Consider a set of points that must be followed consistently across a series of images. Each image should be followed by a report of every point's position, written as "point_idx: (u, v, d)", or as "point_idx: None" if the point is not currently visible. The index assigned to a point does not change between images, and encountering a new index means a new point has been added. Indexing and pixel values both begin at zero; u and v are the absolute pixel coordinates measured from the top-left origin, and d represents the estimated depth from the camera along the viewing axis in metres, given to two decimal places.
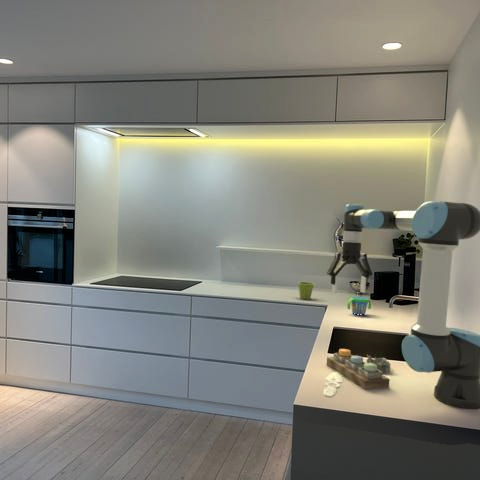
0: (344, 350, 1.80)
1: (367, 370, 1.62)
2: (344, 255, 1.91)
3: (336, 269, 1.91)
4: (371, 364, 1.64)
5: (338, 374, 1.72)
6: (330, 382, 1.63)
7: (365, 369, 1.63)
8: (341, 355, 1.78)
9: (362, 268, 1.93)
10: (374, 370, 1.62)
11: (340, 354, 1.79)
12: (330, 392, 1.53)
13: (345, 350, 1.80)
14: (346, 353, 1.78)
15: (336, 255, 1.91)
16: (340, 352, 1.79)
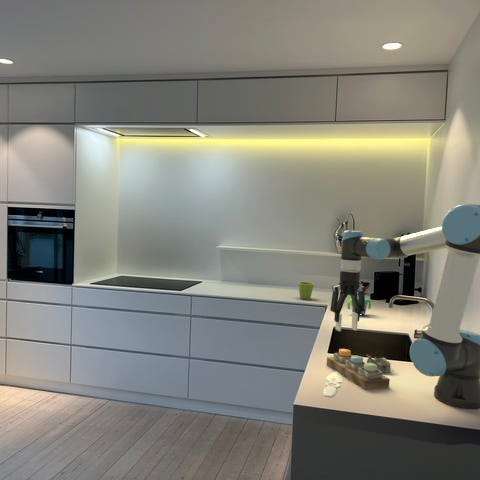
0: (344, 350, 1.80)
1: (367, 370, 1.62)
2: (342, 286, 1.76)
3: (338, 305, 1.77)
4: (371, 364, 1.64)
5: (338, 374, 1.72)
6: (330, 382, 1.63)
7: (365, 369, 1.63)
8: (341, 355, 1.78)
9: (356, 302, 1.79)
10: (374, 370, 1.62)
11: (340, 354, 1.79)
12: (330, 392, 1.53)
13: (345, 350, 1.80)
14: (346, 353, 1.78)
15: (333, 289, 1.76)
16: (340, 352, 1.79)
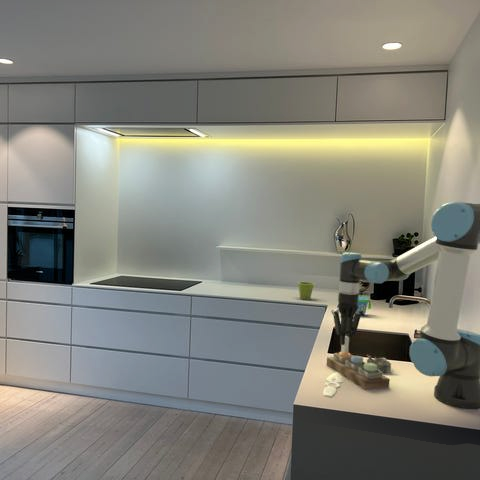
0: None
1: (367, 370, 1.62)
2: (340, 309, 1.77)
3: (342, 328, 1.79)
4: (371, 364, 1.64)
5: (338, 374, 1.72)
6: (330, 382, 1.63)
7: (365, 369, 1.63)
8: None
9: (350, 325, 1.78)
10: (374, 370, 1.62)
11: None
12: (329, 392, 1.53)
13: None
14: (346, 356, 1.78)
15: (333, 314, 1.77)
16: (340, 355, 1.79)
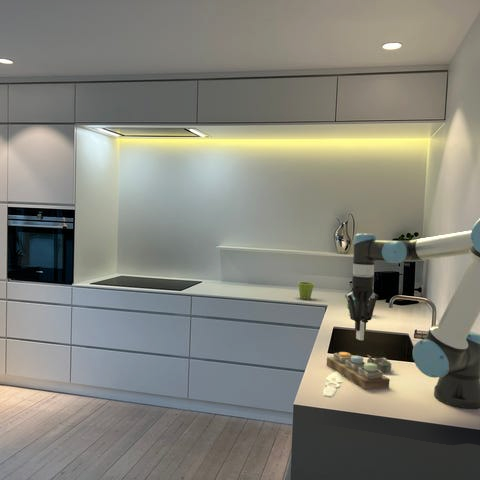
0: (344, 353, 1.81)
1: (367, 370, 1.62)
2: (355, 293, 1.68)
3: (356, 313, 1.70)
4: (371, 364, 1.64)
5: (338, 374, 1.72)
6: (330, 382, 1.63)
7: (365, 369, 1.63)
8: None
9: (366, 309, 1.70)
10: (374, 370, 1.62)
11: None
12: (329, 392, 1.53)
13: (345, 353, 1.80)
14: (346, 356, 1.78)
15: (347, 298, 1.68)
16: (340, 355, 1.79)
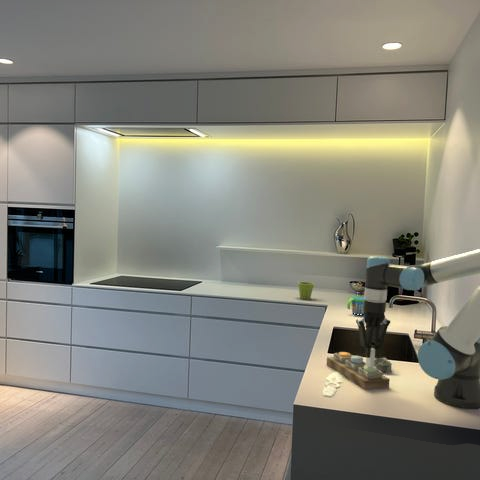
0: (344, 353, 1.81)
1: None
2: (366, 318, 1.61)
3: (367, 339, 1.63)
4: None
5: (339, 374, 1.72)
6: (330, 382, 1.63)
7: None
8: None
9: (377, 336, 1.62)
10: None
11: None
12: (329, 392, 1.53)
13: (345, 353, 1.80)
14: (346, 356, 1.78)
15: (358, 324, 1.61)
16: (340, 355, 1.79)
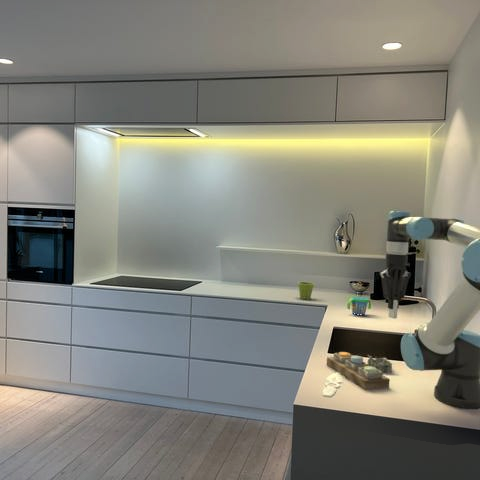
0: (344, 353, 1.81)
1: None
2: (389, 270, 1.67)
3: (390, 291, 1.69)
4: (371, 367, 1.64)
5: (339, 374, 1.72)
6: (330, 382, 1.63)
7: None
8: None
9: (399, 287, 1.69)
10: None
11: None
12: (329, 392, 1.53)
13: (345, 353, 1.80)
14: (346, 356, 1.78)
15: (382, 276, 1.67)
16: (340, 355, 1.79)
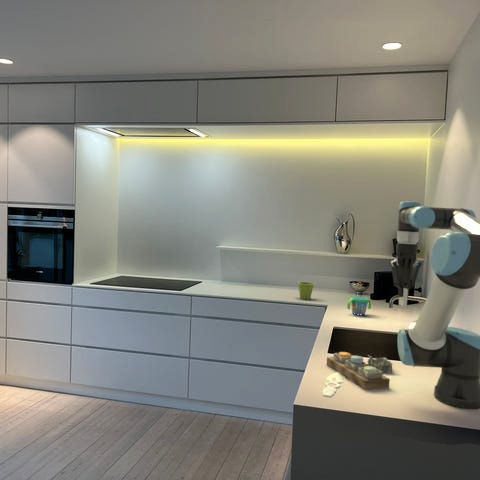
0: (344, 353, 1.81)
1: None
2: (399, 259, 1.71)
3: (400, 279, 1.73)
4: (371, 367, 1.64)
5: (339, 374, 1.72)
6: (330, 382, 1.63)
7: None
8: None
9: (409, 276, 1.73)
10: None
11: None
12: (329, 392, 1.53)
13: (345, 353, 1.80)
14: (346, 356, 1.78)
15: (392, 265, 1.71)
16: (340, 355, 1.79)
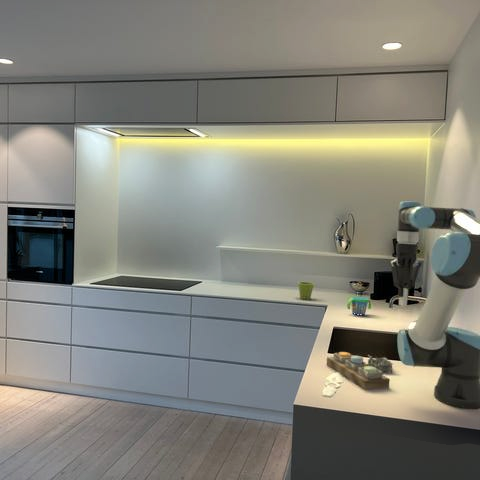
0: (344, 353, 1.81)
1: None
2: (399, 259, 1.71)
3: (400, 279, 1.73)
4: (371, 367, 1.64)
5: (339, 374, 1.72)
6: (330, 382, 1.63)
7: None
8: None
9: (409, 276, 1.73)
10: None
11: None
12: (329, 392, 1.53)
13: (345, 353, 1.80)
14: (346, 356, 1.78)
15: (392, 265, 1.71)
16: (340, 355, 1.79)
